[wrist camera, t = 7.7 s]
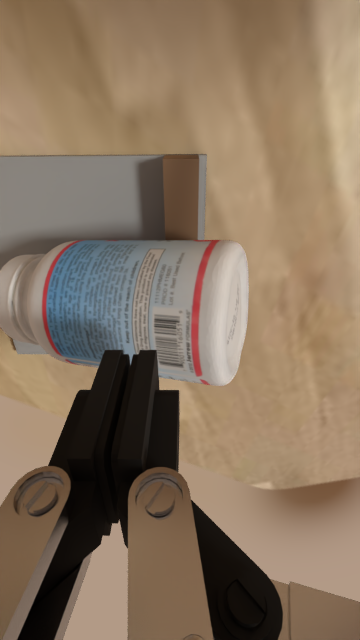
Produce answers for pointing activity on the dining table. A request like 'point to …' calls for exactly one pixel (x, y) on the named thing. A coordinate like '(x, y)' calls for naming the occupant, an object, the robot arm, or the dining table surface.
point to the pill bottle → (133, 303)
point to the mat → (82, 203)
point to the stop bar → (181, 196)
